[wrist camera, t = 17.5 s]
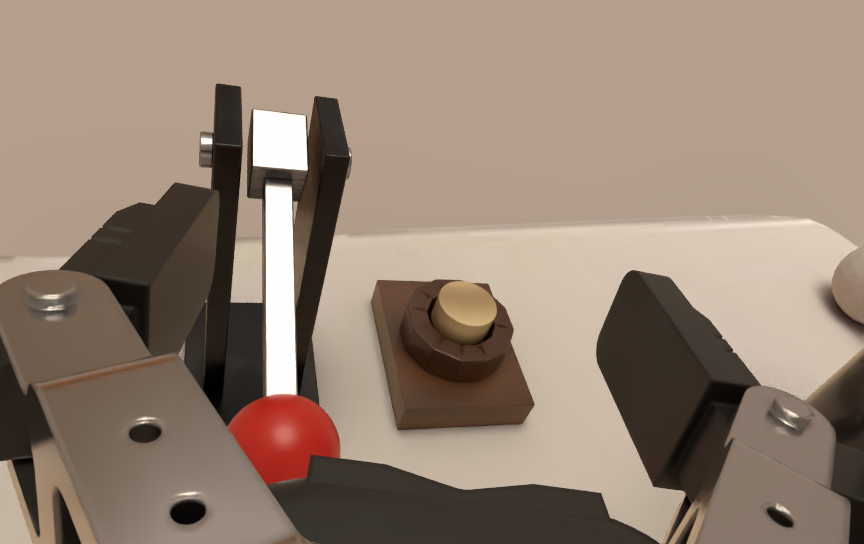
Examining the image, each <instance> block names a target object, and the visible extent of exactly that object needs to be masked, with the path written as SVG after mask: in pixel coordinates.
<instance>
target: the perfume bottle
mask: <svg viewBox="0 0 864 544" xmlns="http://www.w3.org/2000/svg"><path fill="white" fill-rule="evenodd" d="M832 293H833V295H834V298H835V301H836V302H837V304H838V305H839V307H840V308H841V309H842V311H844V312H845V313H846V314H847V315H848V316H849V317H850V318H852V319H853V320H855V321H857V322H860V323H862V324H864V246H863V247H861V248H858V249H856V250H854V251H852V252H851V253H850V254H848V255H847V256H846V257H845V258H844V259H843V260H842V261H841V262H840V263H839V265H838V266H837V268H836V270H835V272H834V275H833V278H832Z"/></svg>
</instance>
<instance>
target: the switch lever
mask: <svg viewBox="0 0 864 544" xmlns="http://www.w3.org/2000/svg"><path fill="white" fill-rule="evenodd" d="M307 134H308V133H307V116H306V115H301V114H292V113H284V112H276V111H267V110H259V109H253V110H252V113H251V120H250V128H249V136H248V154H247V157H248V158H247V159H248V160H247V197H248V198H254V199H262V228H263V229H262V296H263V397H262V398H259V399H257V400H255V401H253V402H251V403H250V404H248V405H247V406H245V407H244V408H243V409H242V410H240V411H239V412H238V413H237V414H236V416H235V417H234V418H233V419H232V421H231V422H230V423H229V425H228V429H229V430H230V432H231V433H232V435H233V436H234V438H235V439H236V441H237V442H238V444H239V445H240V447H241V448H242V450H243V451H244V453H245V454H246V456H247V457H248V459H249V460H250V462H251V463H252V465H253V466H254V467H255V469H256V470H257V472H258V473H259V475H260V476H261V478H262V479H263V481H264V482H265V484H266V485H268V484H271V483H275V482H280V481H286V480H291V479H299V478H306V476H307V471H308V466H309V460H310V455H318V456H326V457H333V458H340V440H339V436H338V432H337V430H336V427H335V425H334V423H333V421H332V420H331V418H330V417H329V416H328V414H327V413H326V412H325V411H324V410H323V409H322V408H321V407H320V406H319V405H317V404H316V403H314V402H313V401H311V400H309V399H307V398H305V397H302V396H298V385H297V344H296V303H295V261H294V223H293V222H294V220H293V201H297V202H300V200H301V197H302V194H303V190H304V187H305V183H306V180H307V176H308V173H309V160H308V135H307Z"/></svg>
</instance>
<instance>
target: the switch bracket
mask: <svg viewBox="0 0 864 544" xmlns="http://www.w3.org/2000/svg"><path fill="white" fill-rule="evenodd" d="M241 103H242V99H241V87H239V86H231V85H225V84H216V89H215V111H214V133H210V132H201V133H200V153H199V166H200V167H204V168H212V180H211V189H213V190H217V191H218V192H219V216H218V229H217V242H216V255H215V267H214V274H213V280H212V284H211V288H210V291H209V294H208V297H207V299H206V302H205V303H204V305H203V307H202V309H201V311H200V313H199V315H198V317H197V319H196V321H195V323H194V325H193V327H192V328H191V330H190V332H189V334H188V336H187V338H186V341H185V358H184V364H185V365H186V367H187V368H188V370H189V371H190V373H191V374H192V376H193V377H194V379H195V380H196V382H197V383H198V385H199V386H200V387H201V389H202V390H203V392H204V393H205V395H206V396H207V398H208V399H209V401H210V402H211V404H212V405H213V407H214V408H215V410H216V411H217V413H218V414H219V416H220V417H221V419H222V420H223V422H224V423H225V425H226V426H227V427H228V425H229V423H230V422H231V421H232V419H233V418H234V417H235V416H236V414H237V413H238V412H239V411H240V410H242V409H243V408H244V407H245V406H247V405H248V404H250V403H251V402H253V401H255V400H257V399H259V398H262V397H263V303H230V300H231V288H232V275H233V262H234V250H235V237H236V224H237V212H238V199H239V187H240V174H241V162H242V149H243V142H242V104H241ZM308 160H309V173H308V176H307V180H306V183H305V187H304V190H303V194H302V197H301V200H300V202H298V205H297V212H296V218H295V224H294V261H295V303H296V344H297V385H298V396H302V397H305V398H307V399H309V400H311V401H313V402H314V403H316V404H317V405H319V397H318V388H317V380H316V371H315V362H314V353H313V344H312V334H313V329H314V325H315V320H316V315H317V311H318V306H319V302H320V297H321V292H322V288H323V283H324V278H325V274H326V269H327V264H328V260H329V255H330V250H331V246H332V241H333V236H334V232H335V227H336V222H337V218H338V213H339V209H340V204H341V199H342V195H343V190H344V185H345V181H346V179H348V178H349V175H350V171H351V163H352V155H351V149H350V148H349V147H348V145H347V141H346V137H345V131H344V127H343V122H342V118H341V113H340V109H339V104H338V100H337V99H334V98H326V97H319V96H315V98H314V105H313V111H312V117H311V123H310V130H309V136H308Z"/></svg>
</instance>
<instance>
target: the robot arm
mask: <svg viewBox="0 0 864 544" xmlns="http://www.w3.org/2000/svg"><path fill="white" fill-rule="evenodd" d="M218 216H219V192H218V191H217V190H213V189H208V188H202V187H197V186H191V185H186V184H181V183H174V184H173V185H172V186H171V187H170V189H169V190H168V191H167V192H166V193H165V194H164V195H163V196H162V198H161V199H160V200H159V201H158V202H157V203H156V204H155V205H151V204H146V203H137V204H135V205H132V206H130V207H127V208H125V209H122V210H120V211H117V212H116V213H115V214H114V215H113V216H112V217H111V218H110V219H109V220H108V221H107V222H106V223H105V224H104V225H103V228H100V229H99V230H98V231H97V232H96V233H95V234H94V235H93V236H92V239H91V240H88V241H87V242H86V243H85V244H84V245H83V246H82V247H81V248H80V249H79V250H78V251H77V252H76V253H75V254H74V255H73V256H72V257H71V258H70V259H69V260H68V261H67V262H66V263H65V264H64V265H63V266H62V267H61V268H60V269H59V270H46V271H37V272H31V273H27V274H23V275H19V276H17V277H14V278H11V279H9V280H7V281H5V282H3V283H2V284H0V461H5V460H7V465H8V469H9V472H10V475H11V478H12V481H13V484H14V487H15V490H16V493H17V496H18V499H19V502H20V506H21V509H22V512H23V515H24V518H25V521H26V524H27V527H28V530H29V533H30V536H31V539H32V543H33V544H660V543H658V542H657V541H655V540H654V539H652V538H651V537H649V536H648V535H646V534H644V533H642V532H640V531H638V530H637V529H635V528H633V527H631V526H628V525H626V524H624V523H622V522H619V521H617V520H615V519H612V518H610V517H609V514H608V511H607V508H606V506H605V503H604V500H603V497H602V494H601V493H596V492H589V491H581V490H574V489H566V488H559V487H551V486H544V485H536V484H529V485H518V486H507V487H496V488H484V489H473V490H463V489H458V488H454V487H451V486H448V485H445V484H442V483H439V482H436V481H433V480H430V479H427V478H424V477H421V476H418V475H415V474H413V473H410V472H407V471H404V470H401V469H398V468H395V467H392V466H389V465H386V464H378V463H371V462H363V461H356V460H348V459H341V458H333V457H326V456H318V455H310V460H309V466H308V471H307V476H306V478H299V479H291V480H286V481H280V482H275V483H271V484H268V485H266V484H265V482H264V481H263V479H262V478H261V476H260V475H259V473H258V472H257V470H256V469H255V467H254V466H253V465H252V463H251V462H250V460H249V459H248V457H247V456H246V454H245V453H244V451H243V450H242V448H241V447H240V445H239V444H238V442H237V441H236V439H235V438H234V436H233V435H232V433H231V432H230V430H229V429H228V427H227V426H226V425H225V423H224V422H223V420H222V419H221V417H220V416H219V414H218V413H217V411H216V410H215V408H214V407H213V405H212V404H211V402H210V401H209V399H208V398H207V396H206V395H205V393H204V392H203V390H202V389H201V387H200V386H199V385H198V383H197V382H196V380H195V379H194V377H193V376H192V374H191V373H190V371H189V370H188V368H187V367H186V365H185V364H184V362H183V361H182V360H181V358H180V357H179V356H178V354H179V352H180V350H181V348H182V346H183V344H184V342H185V340H186V338H187V336H188V334H189V332H190V330H191V328H192V327H193V325H194V323H195V321H196V319H197V317H198V315H199V313H200V311H201V309H202V307H203V305H204V303H205V301H206V299H207V297H208V294H209V291H210V288H211V284H212V280H213V274H214V267H215V255H216V242H217V229H218ZM732 351H733V349H732V348H731V347H730V345H729V344H728V343H727V341H726V340H725V339H722V335H721V334H720V333H719V331H718V330H717V329H716V328H715V326H714V325H713V324H712V322H711V321H710V320H709V319H707V318H706V317H705V316H704V315H702V314H701V313H700V312H698V311H697V310H696V309H694V308H693V307H692V305H691V304H690V303H689V301H688V300H687V299H686V298H685V296H684V295H683V294H682V292H681V291H680V290H679V289H678V287H677V286H676V285H675V283H674V282H673V281H672V280H671V279H670V278H669V277H666V276H661V275H656V274H651V273H645V272H640V271H635V270H632V271H630V272H628V273H627V274H626V275H625V277H624V278H623V280H622V282H621V284H620V287H619V289H618V291H617V294H616V296H615V298H614V301H613V303H612V306H611V308H610V310H609V313H608V315H607V317H606V320H605V322H604V324H603V327H602V329H601V332H600V334H599V337H598V341H597V348H596V357H597V363H598V365H599V368H600V370H601V372H602V374H603V377H604V379H605V381H606V383H607V385H608V388H609V390H610V392H611V394H612V396H613V398H614V401H615V403H616V405H617V407H618V409H619V412H620V414H621V416H622V418H623V420H624V423H625V425H626V427H627V429H628V431H629V434H630V436H631V438H632V440H633V442H634V445H635V447H636V449H637V451H638V453H639V456H640V458H641V460H642V462H643V464H644V467H645V469H646V471H647V473H648V475H649V478H650V480H651V482H652V484H653V486H654V487H659V488H666V489H673V490H681V491H685V493H686V495H685V497H684V498H683V500H682V502H681V503H680V505H679V507H678V509H677V510H676V513H675V515H674V517H673V519H672V522H671V524H670V526H669V529H668V531H667V533H666V535H665V538H664V540H663V542H662V544H864V348H863V349H862V350H861V351H860V352H858V353H857V354H856V355H855V356H854V357H853V358H852V359H851V360H849V361H848V362H847V363H846V364H845V365H844V366H843V367H842V368H840V369H839V370H838V371H837V372H836V373H835V374H834V375H833V376H831V377H830V378H829V379H828V380H827V381H826V382H825V383H824V384H822V385H821V386H820V387H819V388H818V389H817V390H816V391H815V392H813V393H812V394H811V395H810V396H809V397H808V398H807V399H806V400H804V401H803V400H801V399H799V398H797V397H795V396H793V395H791V394H789V393H787V392H784V391H781V390H779V389H775V388H772V387H766V386H761V385H760V383H759V382H758V381H757V379H756V378H755V377H754V376H753V374H752V373H751V372H750V371H749V369H748V368H747V367H746V366H745V364H744V363H743V362H742V360H741V359H740V358H739V357H738V355H737V354H736V353H733V352H732Z"/></svg>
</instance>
